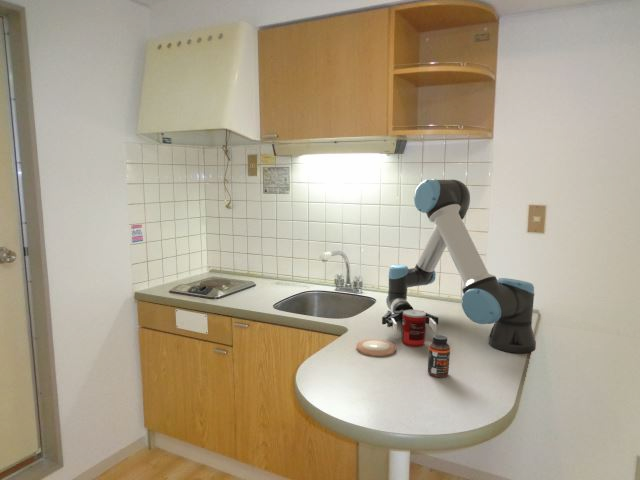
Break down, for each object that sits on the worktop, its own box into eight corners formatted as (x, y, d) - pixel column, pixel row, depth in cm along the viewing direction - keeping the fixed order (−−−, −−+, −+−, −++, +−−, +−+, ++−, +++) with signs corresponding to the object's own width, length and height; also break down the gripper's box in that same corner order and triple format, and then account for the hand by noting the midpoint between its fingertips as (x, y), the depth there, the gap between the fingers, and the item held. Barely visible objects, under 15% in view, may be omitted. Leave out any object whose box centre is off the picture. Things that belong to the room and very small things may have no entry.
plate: (403, 351, 154) (403, 347, 154) (372, 359, 147) (373, 355, 147) (378, 340, 165) (378, 336, 164) (348, 346, 158) (348, 342, 158)
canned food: (409, 337, 168) (411, 308, 166) (429, 343, 162) (430, 312, 160) (397, 342, 162) (398, 312, 161) (416, 348, 157) (417, 317, 155)
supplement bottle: (436, 379, 132) (438, 341, 131) (423, 371, 138) (425, 334, 136) (452, 376, 135) (454, 338, 134) (439, 368, 140) (441, 332, 139)
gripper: (433, 319, 181) (451, 338, 160) (369, 319, 180) (378, 338, 159) (434, 300, 180) (452, 317, 159) (370, 300, 179) (379, 316, 158)
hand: (415, 327), depth 159 cm, fingers open, 13 cm apart
